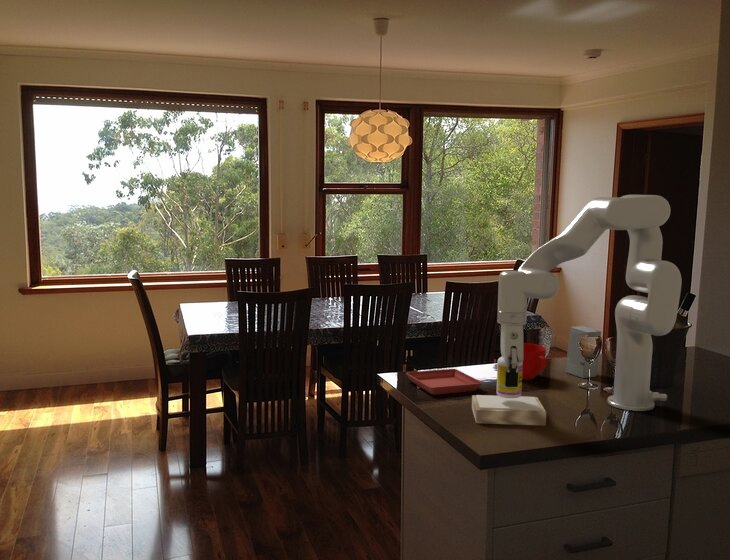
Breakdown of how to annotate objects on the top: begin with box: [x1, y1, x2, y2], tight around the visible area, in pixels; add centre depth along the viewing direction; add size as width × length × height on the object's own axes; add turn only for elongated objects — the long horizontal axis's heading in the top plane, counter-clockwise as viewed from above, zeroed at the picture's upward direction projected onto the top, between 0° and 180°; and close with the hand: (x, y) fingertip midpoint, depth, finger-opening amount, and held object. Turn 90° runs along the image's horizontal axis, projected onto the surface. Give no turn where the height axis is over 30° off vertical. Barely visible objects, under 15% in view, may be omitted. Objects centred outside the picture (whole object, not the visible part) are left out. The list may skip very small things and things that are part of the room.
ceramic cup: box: [522, 342, 548, 381], centre depth 223 cm, size 13×17×10 cm
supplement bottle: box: [496, 351, 523, 398], centre depth 184 cm, size 7×7×13 cm
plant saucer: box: [405, 368, 483, 396], centre depth 213 cm, size 18×18×3 cm
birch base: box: [471, 394, 547, 426], centre depth 186 cm, size 18×13×4 cm
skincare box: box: [564, 325, 602, 379], centre depth 228 cm, size 8×7×16 cm
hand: (509, 382), depth 185 cm, fingers closed on supplement bottle, 6 cm apart
